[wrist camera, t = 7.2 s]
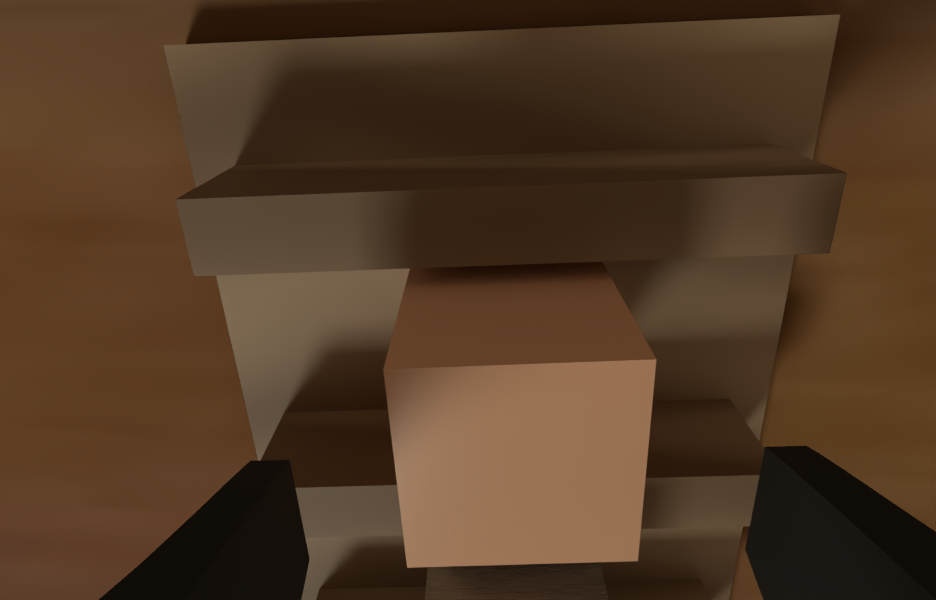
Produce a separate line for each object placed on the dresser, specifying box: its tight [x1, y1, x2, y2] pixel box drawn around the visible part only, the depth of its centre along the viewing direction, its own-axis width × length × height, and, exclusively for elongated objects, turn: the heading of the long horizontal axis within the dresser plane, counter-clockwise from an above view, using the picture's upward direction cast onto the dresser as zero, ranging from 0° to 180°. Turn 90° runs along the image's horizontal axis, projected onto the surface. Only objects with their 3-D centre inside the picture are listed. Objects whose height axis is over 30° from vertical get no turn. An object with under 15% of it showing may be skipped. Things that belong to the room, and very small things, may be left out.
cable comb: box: [164, 14, 847, 600], centre depth 16 cm, size 20×14×4 cm
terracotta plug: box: [383, 262, 656, 568], centre depth 12 cm, size 4×4×6 cm
